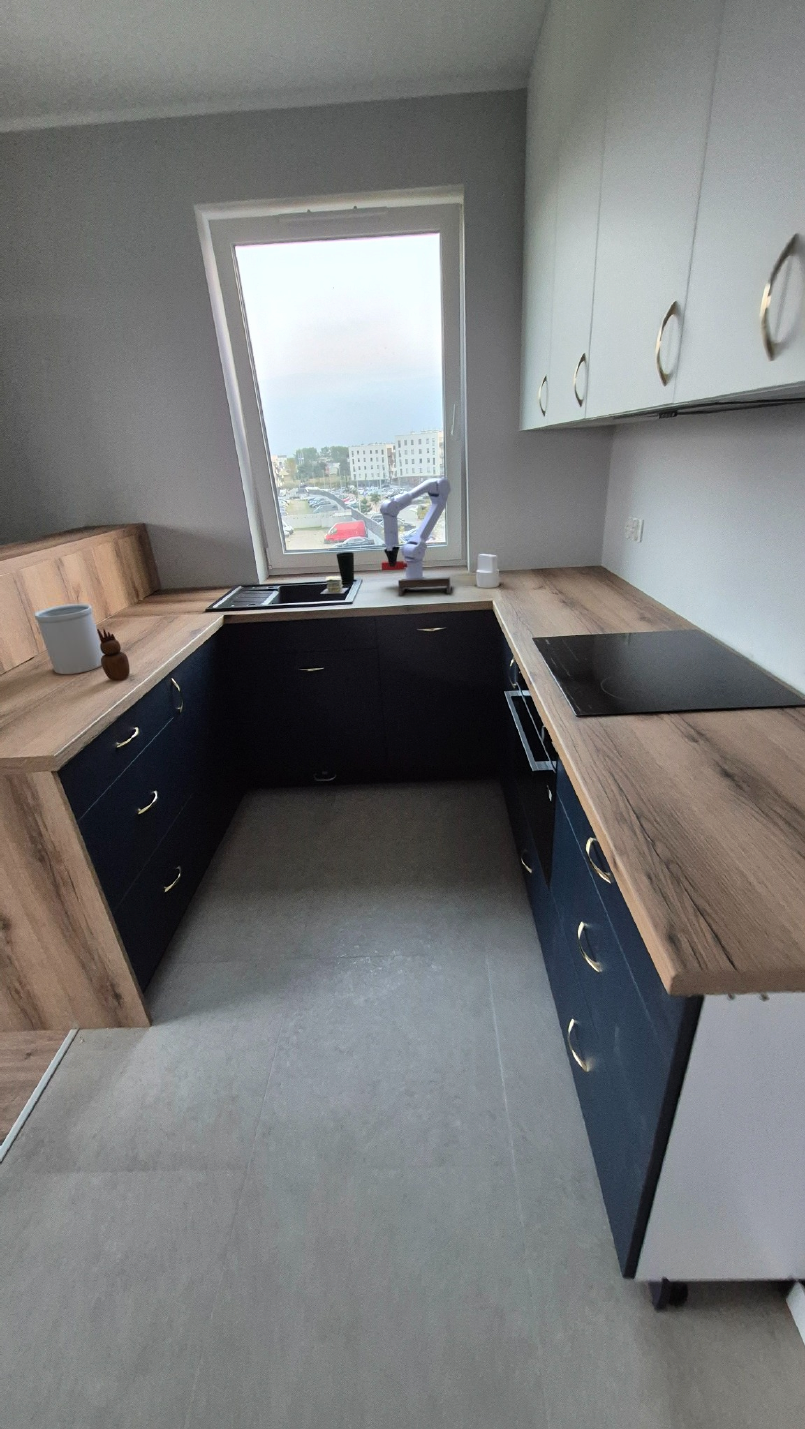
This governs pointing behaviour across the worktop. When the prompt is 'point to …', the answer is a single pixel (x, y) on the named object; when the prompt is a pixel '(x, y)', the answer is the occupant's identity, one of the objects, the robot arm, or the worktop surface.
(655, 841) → the worktop surface
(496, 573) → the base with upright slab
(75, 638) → the utensil holder
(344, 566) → the cup
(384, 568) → the crayon
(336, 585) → the stacked layers on plate
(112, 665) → the wooden figurine
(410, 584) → the shelf
